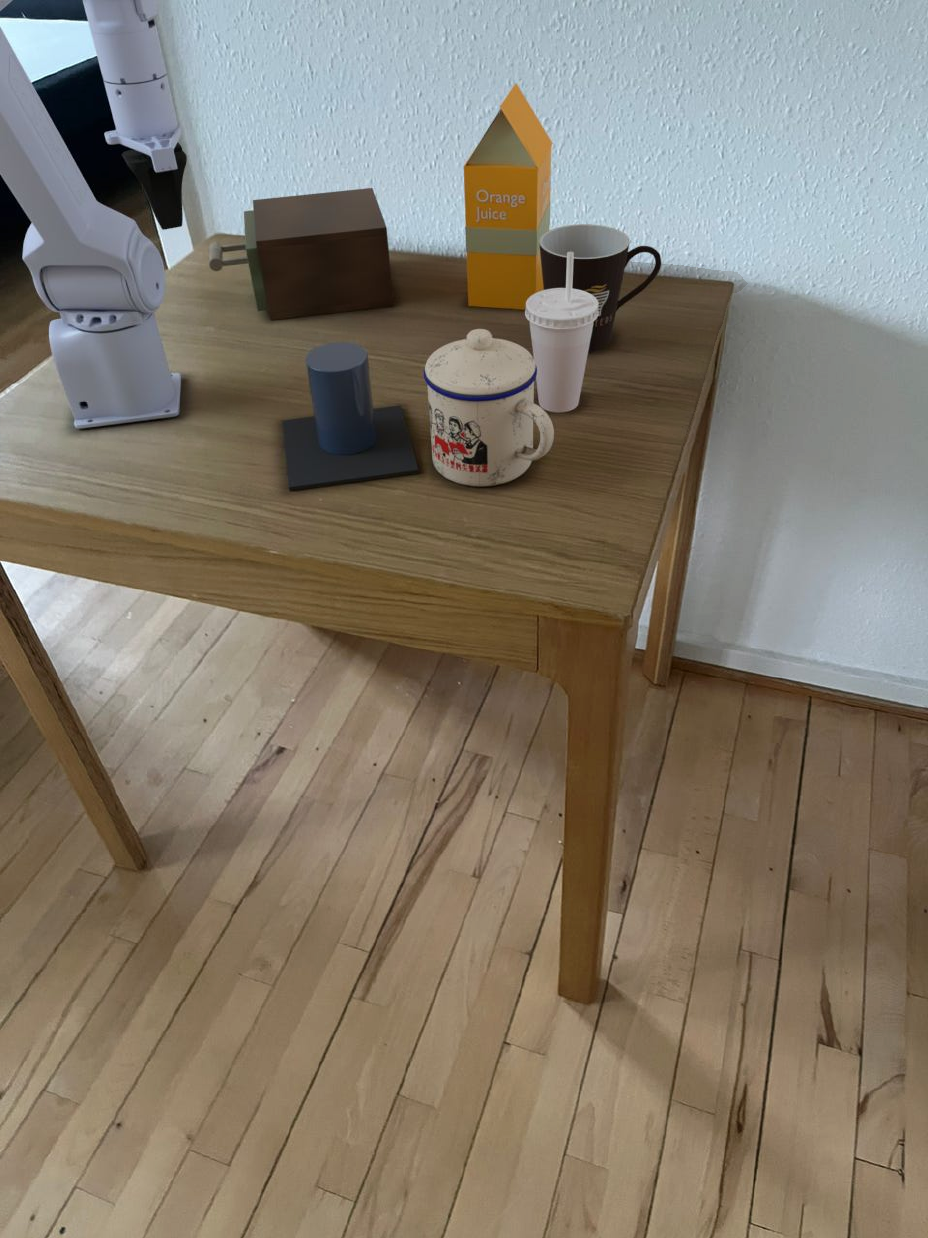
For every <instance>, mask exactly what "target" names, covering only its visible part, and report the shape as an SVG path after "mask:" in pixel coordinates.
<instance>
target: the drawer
mask: <svg viewBox="0 0 928 1238" xmlns="http://www.w3.org/2000/svg"><path fill="white" fill-rule="evenodd" d="M243 224H244V241H245V242H240V243H231V244H221V242H219V241H212V242H211V243H210V244H209V250H208V251H209V254H208V255H209V256H208V258H209V259H208V265H209V268H210V270H212V271H214V272H219V271H221V270H223V267H228V266H237V265H239V266H240V265H248V268H249V275H250V279H251V285H252V289H253V295H254V300H255V305H256V309H257V312H263V311H269V310H268V305H267V299H266V294H265V288H264V283H263V277H262V272H261V267H260V261H259V256H258V250H257V245H256V236H255V223H254V209H252V210H244V211H243ZM238 251H245V252H246V253H245V254H246V256H238V257H227V258H223V254H224V253H228V252H238Z"/></svg>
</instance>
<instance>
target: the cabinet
mask: <svg viewBox="0 0 928 1238" xmlns="http://www.w3.org/2000/svg"><path fill="white" fill-rule="evenodd" d="M377 199H378V198H377V196H376V193H375V191H374V188H373V187H368V188H356V189H348V190H338V191H327V192H318V193H309V194H299V195H290V196H278V197H268V198H261V199H258V198H257V199H252V207H253V209H252V210H254V223H255V236H256V245H257V250H258V256H259V261H260V267H261V272H262V277H263V283H264V288H265V294H266V299H267V305H268V310H267V311H268V314H269V315H268V316H269V320H270V321H276V320H286V319H293V318H294V319H295V318H301V317H303V318H304V317H311V316H319V315H327V314H336V313H346V312H352V311H362V310H371V309H379V308H387V307H394V293H393V283H392V272H391V261H390V260H391V259H390V251H389V249H390V248H389V240H388V239H389V238H388V228H387V227H388V226H387V225H386V222H385V219H384V217H383V214H382V211H381V208H380V205H379V202H378V200H377Z"/></svg>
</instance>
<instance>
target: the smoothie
mask: <svg viewBox="0 0 928 1238" xmlns="http://www.w3.org/2000/svg"><path fill="white" fill-rule="evenodd" d="M573 260H574V252H567V270H566V288H553V289H547V290H543V291H540V292H537V293H535V294H533V295H532V296H530V297H529V298H528V299H527V301H526V310H524V316H525V318H526V320H527V321H528V322H529V330H530V331H529V332H530V339H531V346H532V347H531V348H532V357H533V358H534V361H535V364H536V366H537V375H536V378H535V381H536V389H537V398H538V406H539V407H541V408H542V409H543V410H544V411H546V412H547V411H548V412H551V413H567V412H570V411H571V412H572V411H573V410H575V409H576V408H577V407H578V406H579V404H580V397H581V392H582V387H583V381H584V376H585V371H586V365H587V359H588V356H589V353H588V350H589V345H590V339H591V335H592V329H593V323H594V321H595V320H596V319H597V317H598V315H599V313H598V306H599V303H598V300H597V299H596V298H595V297H594V296H593V295H591V294H590V293H588V292H585V291H582V290H578V289H572V284H573Z"/></svg>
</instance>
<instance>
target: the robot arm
mask: <svg viewBox="0 0 928 1238" xmlns="http://www.w3.org/2000/svg"><path fill="white" fill-rule="evenodd" d="M12 2H13V0H0V12H1V11H2V10H3V9H4V8H6V7H7V6H8V5H9V4H10V3H12ZM82 4H83V6H84V11H85V15H86V19H87V22H88V27H89V31H90V34H91V35H90V36H91V38H92V42H93V45H94V50H95V53H96V58H97V62H98V65H99V69H100V72H101V77H102V80H103V85H104V88H105V92H106V96H107V99H108V102H109V106H110V111H111V114H112V119H113V122H114V126H115V129H114V130H109V131H105V132H104V138H105V142H106V143H107V144H108V145H122V146H123V147H126V148H129V149H130V150H125V151H123V152H122V153H121V156H122V158H123V160H124V161H125V163H126V165H127V167H128V168H129V169H130V170H131V171H132V172H133V174H134V176H135V177H136V178H137V180H138V181H139V183H140V185H141V187H142V189H143V191H144V193H145V196H146V198H147V200H148V204H149V206H150V208H151V210H152V213H153V215H154V217H155V219H156V221H157V223H158V225H159V226H160V229H161V230H163V231H165V230H166V231H167V230H170V229H176V228H181V227H183V219H184V217H183V214H184V213H183V179H184V173H185V169H186V166H187V161H188V160H187V159H188V157H187V154H186V152H185V151H184V150H183V146H182V145H181V143H180V142H179V141H180V138H181V136H182V132H183V131H182V127H181V124H180V123H179V122H178V119H177V114H176V110H175V106H174V101H173V96H172V92H171V87H170V82H169V78H168V74H167V69H166V65H165V59H164V56H163V50H162V46H161V42H160V37H159V33H158V28H157V24H156V19H155V16H156V15H158V11H159V10H158V1H157V0H82ZM0 176H1V178H2V179H3V181H4V182H5V184H6V185H7V187H8V189H9V190H10V192H11V193H12V195H13V196H14V197H15V199H16V201H17V203H18V204H19V205H20V207H21V208H22V210H23V212H24V213H25V214H26V216H27V218H28V219H29V220H30V222H31V223H30V225H29V227H27V231H26V233H25V237H24V240H23V245H22V246H23V247H22V260H23V262H24V264H25V265H26V266H27V268H28V270H29V273H30V274H31V277H32V282H33V285H34V288H35V290H36V292H37V294H38V296H39V298H40V299H41V301H42V302H43V304H44V305H45V306H46V307H47V308H48V309H49V310H50V311H52V312H55V313H59V315H60V318H57V319H52V320H51V321H50V322H49V325H48V326H49V327H48V338H49V339H48V340H49V344H50V345H49V346H50V351H51V355H52V360H53V363H54V366H55V370H56V372H57V374H58V377H59V380H60V383H61V386H62V388H63V391H64V394H65V397H66V401H67V402H68V406H69V408H70V411H71V414H72V417H73V419H74V421H73V424H74V427H75V429H87V428H94V427H95V428H96V427H103V426H104V427H105V426H111V425H120V424H127V423H136V422H142V421H150V420H151V421H152V420H159V419H166V418H174V417H177V416H178V415H180V405H181V404H180V403H181V390H182V388H181V387H182V374H181V373H179V372H172V373H171V370H170V366H169V362H168V358H167V356H166V352H165V348H164V343H163V341H162V337H161V333H160V329H159V326H158V321H157V319H156V314H155V312H158V309H159V308H160V306H161V305H162V303H163V302H164V298H165V294H166V287H167V286H166V285H167V284H166V283H167V280H166V270H165V265H164V261H163V257H162V256H161V253H160V251H159V249H158V247H156V246H155V244H154V242H153V241H152V240H150V239H149V238H148V237H147V236H145V235H144V234H143V233H142V231H141V229H140V228H139V225H138V224H137V222H136V221H135V219H133V218H132V217H129V216H127V215H125V214H124V213H121V212H120V211H117V210H115V209H113V208H111V207H110V206H109V207H108V206H107V205H104V204H102V203H101V202H99V201H98V200H97V199H96V197H95V196H94V193H93V192H92V190H91V188H90V186H89V184H88V183H87V180H86V179H85V178H84V176H83V173H82V172H81V170H80V168H79V166H78V165H77V163H76V161H75V159H74V158H73V155H72V154H71V151H70V150H69V148H68V146H67V145H66V143H65V140H64V139H63V137H62V135H61V134H60V132H59V130H58V129H57V126H56V125H55V123H54V121H53V119H52V117H51V116H50V114H49V112H48V111H47V108H46V107H45V105H44V103H43V101H42V100H41V97H40V96H39V94H38V93H37V90H36V89H35V86H34V85H33V83H32V81H31V79H30V77H29V76H28V74H27V72H26V71H25V68H24V67H23V65H22V63H21V61H20V59H19V58H18V56H17V54H16V52H15V50H14V49H13V47H12V45H11V43H10V41H9V40H8V38H7V36H6V34H5V32H4V31H3V28H2V27H1V26H0Z"/></svg>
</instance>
